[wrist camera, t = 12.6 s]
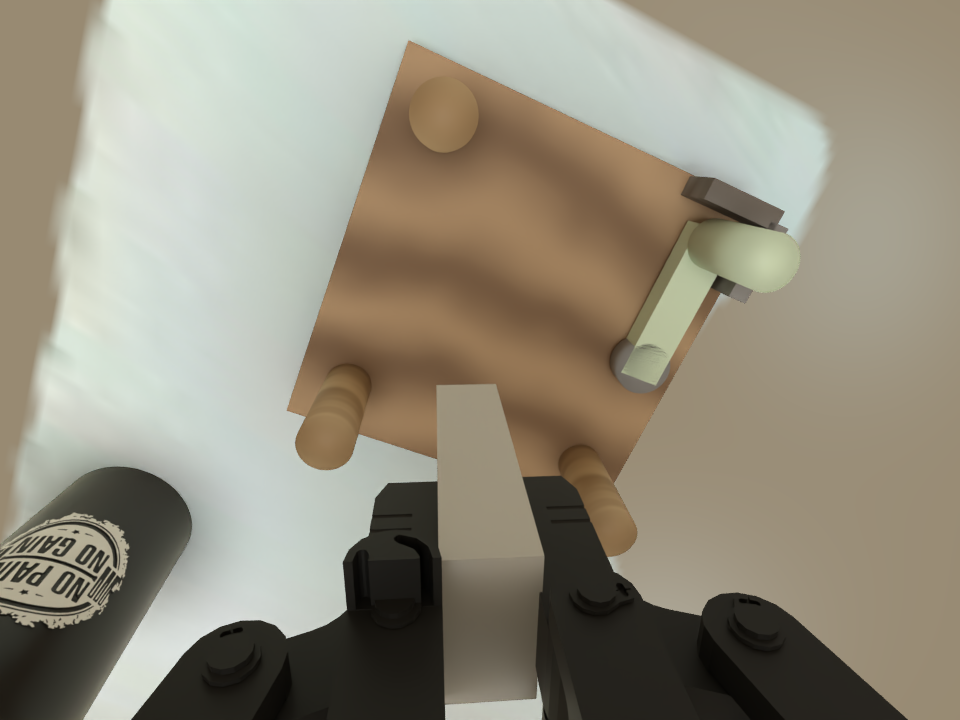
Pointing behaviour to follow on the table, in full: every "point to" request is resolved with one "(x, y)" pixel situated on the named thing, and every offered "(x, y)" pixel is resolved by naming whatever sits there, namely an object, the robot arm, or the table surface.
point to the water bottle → (82, 588)
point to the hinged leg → (698, 291)
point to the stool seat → (502, 282)
